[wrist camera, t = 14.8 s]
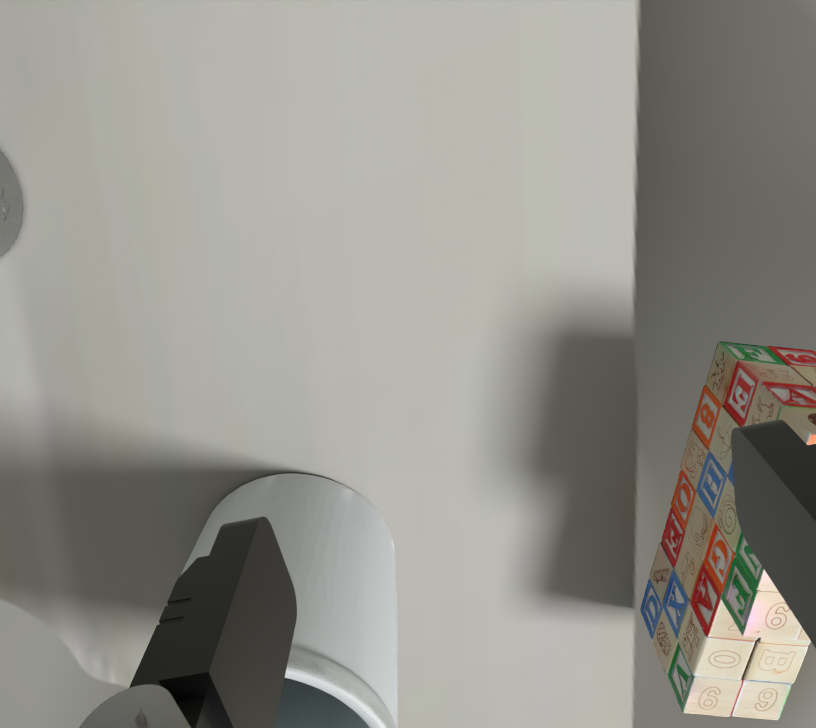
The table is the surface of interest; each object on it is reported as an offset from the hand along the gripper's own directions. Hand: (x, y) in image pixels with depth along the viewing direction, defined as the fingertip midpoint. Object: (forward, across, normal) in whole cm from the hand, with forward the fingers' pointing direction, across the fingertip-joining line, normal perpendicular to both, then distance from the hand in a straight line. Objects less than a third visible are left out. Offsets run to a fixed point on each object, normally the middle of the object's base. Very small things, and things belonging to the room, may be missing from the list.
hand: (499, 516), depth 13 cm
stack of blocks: (+32, -14, +24) cm, 43 cm away
